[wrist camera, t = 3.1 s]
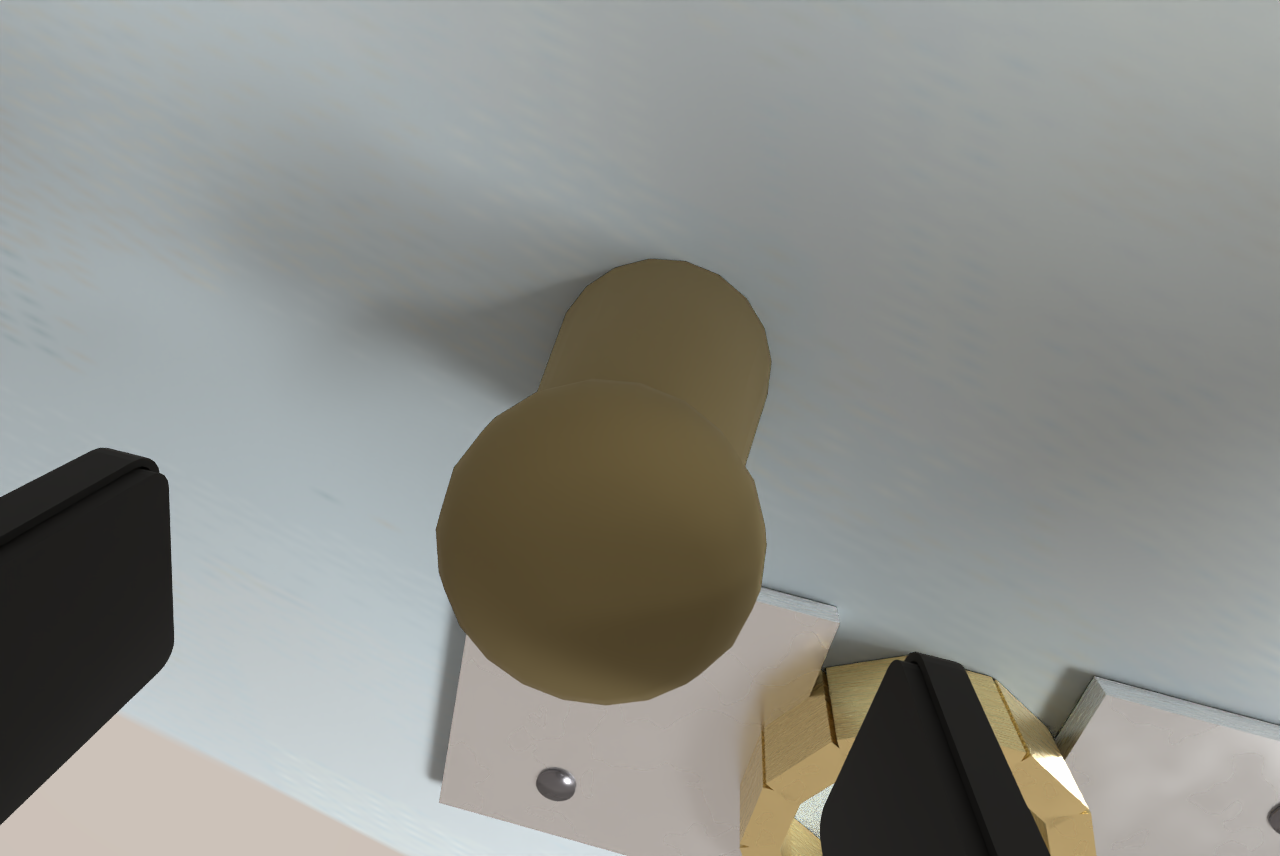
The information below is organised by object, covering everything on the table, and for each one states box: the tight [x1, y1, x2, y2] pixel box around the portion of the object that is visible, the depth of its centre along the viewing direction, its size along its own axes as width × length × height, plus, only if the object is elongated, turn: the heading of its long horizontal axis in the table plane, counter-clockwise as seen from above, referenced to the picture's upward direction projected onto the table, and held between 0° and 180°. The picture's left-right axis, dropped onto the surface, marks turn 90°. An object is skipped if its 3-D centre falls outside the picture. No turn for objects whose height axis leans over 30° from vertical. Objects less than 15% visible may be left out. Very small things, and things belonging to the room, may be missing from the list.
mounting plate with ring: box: [439, 587, 1280, 856], centre depth 23 cm, size 12×30×3 cm, turn 77°
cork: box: [436, 259, 771, 705], centre depth 15 cm, size 6×6×11 cm
